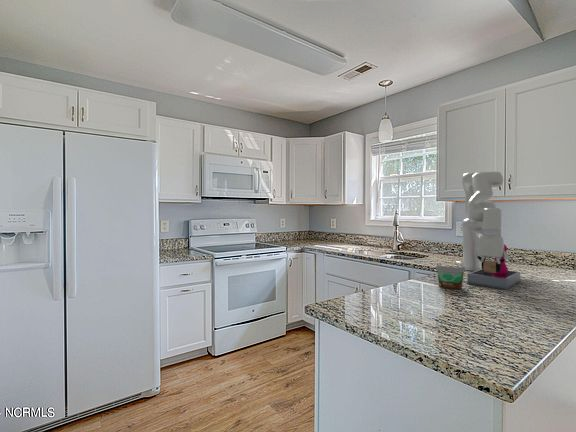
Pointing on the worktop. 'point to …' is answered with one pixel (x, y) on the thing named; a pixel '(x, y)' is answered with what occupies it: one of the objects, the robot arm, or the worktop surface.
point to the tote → (493, 279)
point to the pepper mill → (502, 268)
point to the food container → (450, 277)
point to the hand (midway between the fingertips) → (490, 270)
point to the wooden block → (489, 266)
